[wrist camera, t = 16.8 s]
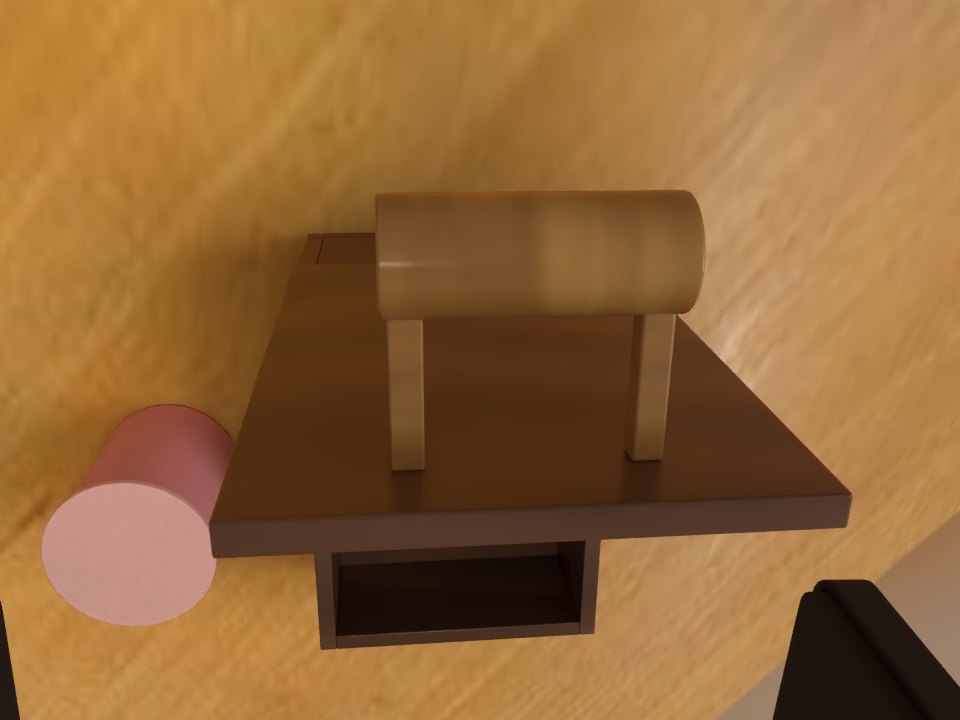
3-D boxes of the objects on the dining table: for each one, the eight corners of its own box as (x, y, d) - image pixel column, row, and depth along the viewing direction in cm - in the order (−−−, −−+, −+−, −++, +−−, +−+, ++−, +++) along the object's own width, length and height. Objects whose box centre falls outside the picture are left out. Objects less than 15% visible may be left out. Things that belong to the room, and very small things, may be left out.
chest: (568, 557, 47) (594, 634, 41) (328, 570, 46) (320, 650, 40) (585, 229, 41) (620, 265, 35) (307, 233, 39) (295, 271, 34)
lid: (848, 528, 18) (906, 211, 16) (211, 560, 17) (172, 219, 14) (621, 279, 35) (634, 107, 32) (295, 285, 33) (283, 107, 31)
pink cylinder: (236, 395, 42) (206, 478, 34) (250, 518, 44) (224, 621, 37) (89, 401, 41) (25, 487, 34) (111, 526, 44) (56, 632, 36)
